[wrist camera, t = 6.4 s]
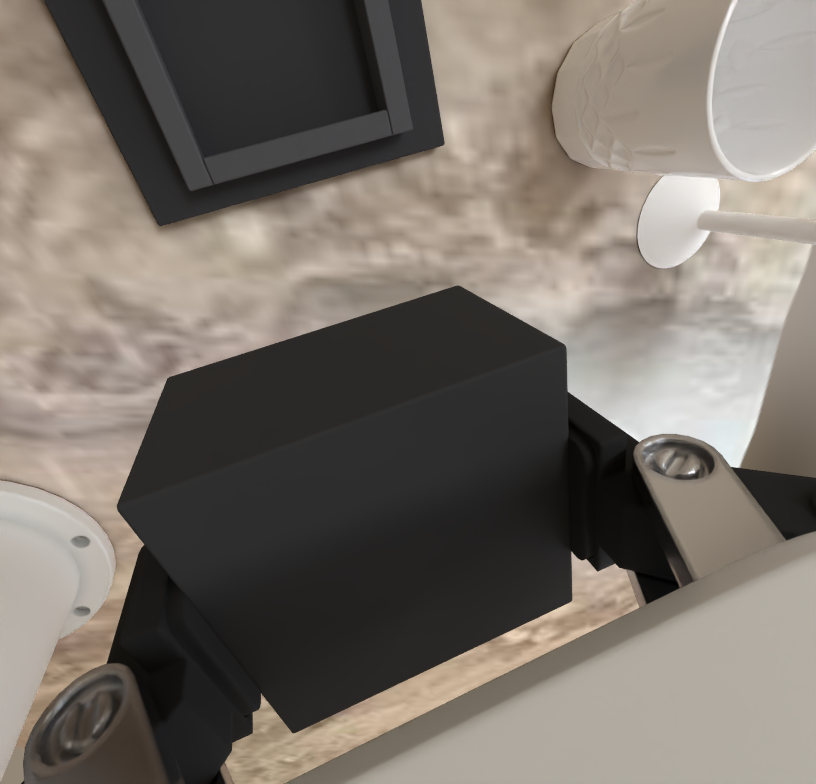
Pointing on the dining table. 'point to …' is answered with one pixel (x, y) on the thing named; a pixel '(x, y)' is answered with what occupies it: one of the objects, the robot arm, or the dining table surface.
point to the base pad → (252, 91)
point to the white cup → (693, 89)
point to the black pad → (363, 496)
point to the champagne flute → (703, 221)
